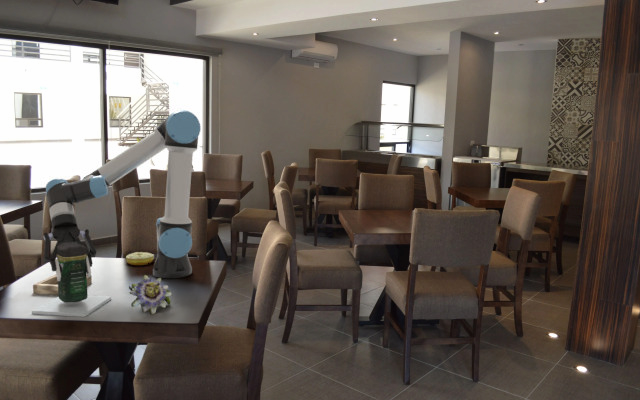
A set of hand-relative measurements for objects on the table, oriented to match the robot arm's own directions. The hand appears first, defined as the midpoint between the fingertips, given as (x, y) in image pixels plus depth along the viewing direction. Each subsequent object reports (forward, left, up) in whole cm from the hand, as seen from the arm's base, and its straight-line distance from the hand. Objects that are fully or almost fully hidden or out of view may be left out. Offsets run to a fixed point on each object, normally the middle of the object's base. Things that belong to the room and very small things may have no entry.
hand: (74, 276), depth 164 cm
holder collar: (+16, -21, -11) cm, 28 cm away
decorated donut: (+5, -61, -11) cm, 62 cm away
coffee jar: (+2, -3, -8) cm, 9 cm away
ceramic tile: (+2, -3, -11) cm, 11 cm away
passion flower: (-23, -3, -11) cm, 25 cm away
